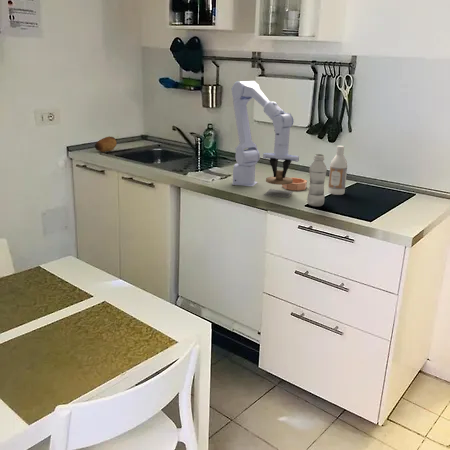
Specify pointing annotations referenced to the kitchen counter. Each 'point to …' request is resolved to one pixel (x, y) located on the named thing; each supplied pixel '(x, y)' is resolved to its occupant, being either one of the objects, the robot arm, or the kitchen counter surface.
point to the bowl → (296, 184)
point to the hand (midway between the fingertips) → (279, 177)
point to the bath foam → (338, 173)
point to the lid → (279, 179)
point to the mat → (278, 193)
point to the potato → (106, 144)
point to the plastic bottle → (317, 181)
